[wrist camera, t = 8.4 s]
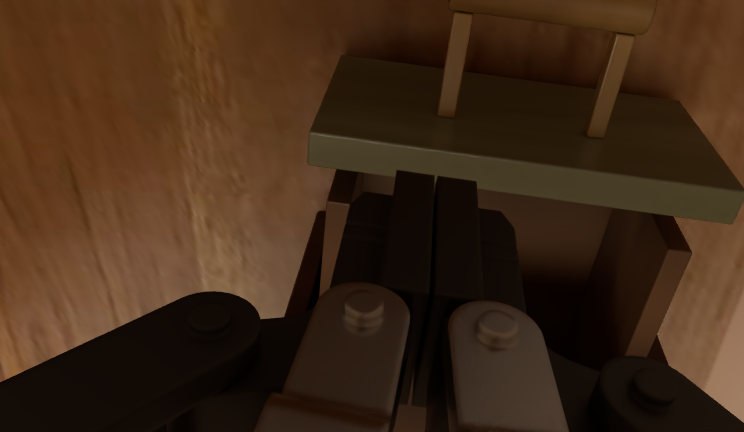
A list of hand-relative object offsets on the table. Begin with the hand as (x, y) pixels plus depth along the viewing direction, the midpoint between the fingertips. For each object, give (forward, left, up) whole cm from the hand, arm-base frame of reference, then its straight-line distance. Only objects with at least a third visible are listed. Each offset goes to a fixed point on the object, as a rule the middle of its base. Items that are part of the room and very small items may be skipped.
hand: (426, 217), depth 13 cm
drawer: (+2, +7, -15) cm, 17 cm away
